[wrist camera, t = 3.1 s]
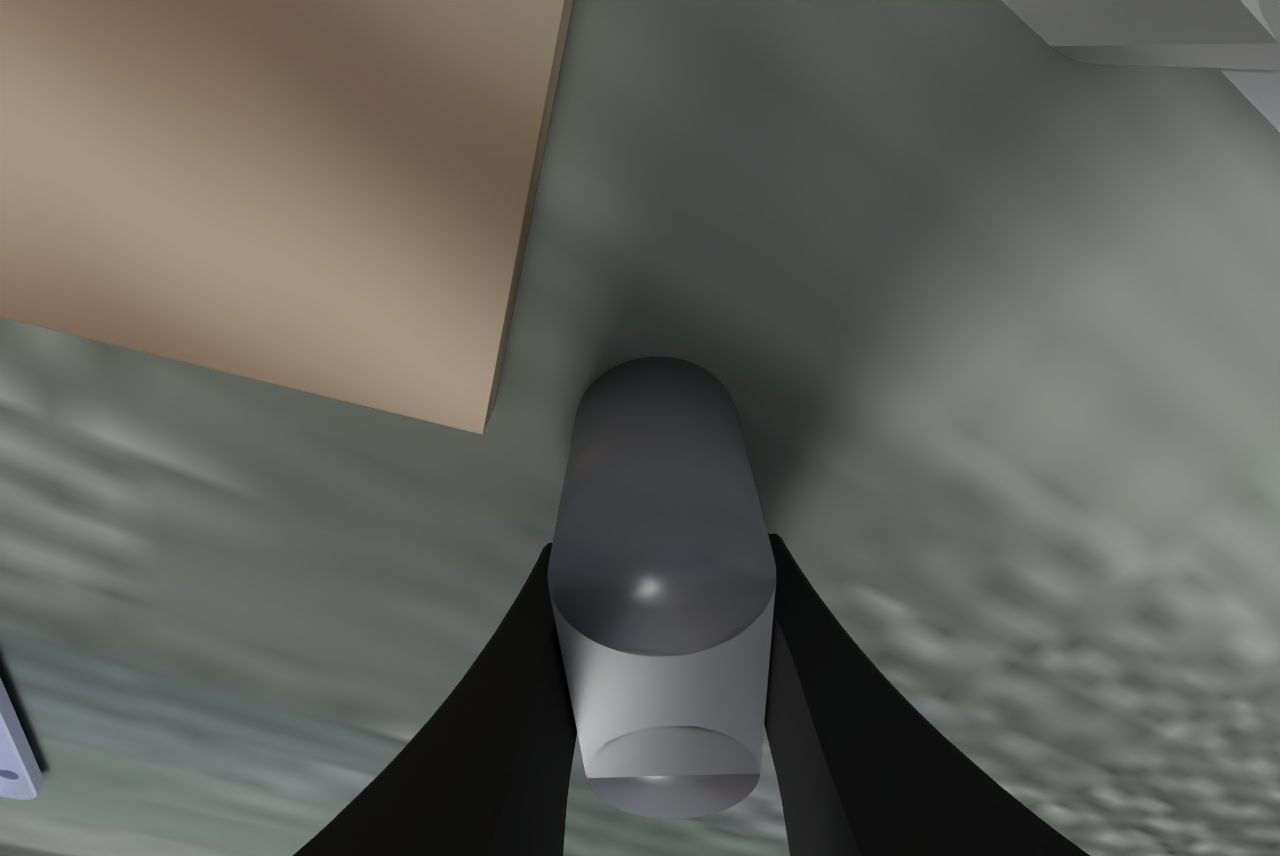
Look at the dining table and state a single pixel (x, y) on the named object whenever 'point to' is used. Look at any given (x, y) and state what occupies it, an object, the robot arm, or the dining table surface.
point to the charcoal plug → (663, 592)
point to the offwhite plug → (1170, 37)
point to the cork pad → (280, 185)
